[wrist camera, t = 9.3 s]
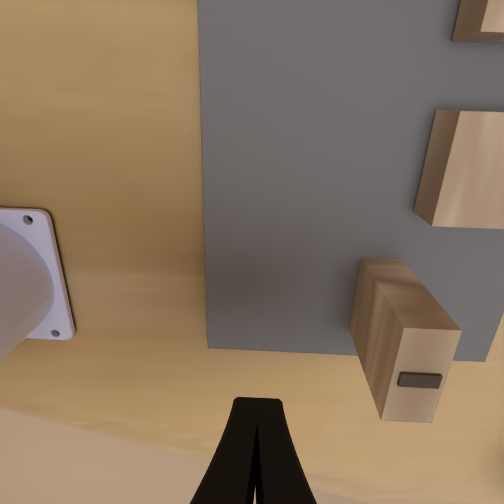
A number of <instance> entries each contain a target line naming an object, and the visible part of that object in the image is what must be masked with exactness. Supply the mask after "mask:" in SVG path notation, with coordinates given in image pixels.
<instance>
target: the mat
mask: <svg viewBox="0 0 504 504" xmlns="http://www.w3.org/2000/svg"><path fill="white" fill-rule="evenodd" d="M460 2H461V0H198V19H199V55H200V91H201V126H202V162H203V198H204V233H205V269H206V305H207V340H208V348H218V349H238V350H258V351H278V352H297V353H317V354H337V355H357V356H358V354H357V351H356V348H355V345H354V343H353V340H352V337H351V334H350V331H349V327H350V321H351V315H352V310H353V304H354V298H355V292H356V286H357V280H358V275H359V269H360V263H361V257H373V258H396V259H402V260H403V261H404V263H405V264H406V265H407V266H408V267H409V269H410V270H411V271H412V272H413V273H414V274H415V276H416V277H417V278H418V279H419V280H420V282H421V283H422V284H423V285H424V286H425V287H426V289H427V290H428V291H429V292H430V293H431V295H432V296H433V297H434V298H435V299H436V300H437V302H438V303H439V304H440V305H441V306H442V308H443V309H444V310H445V311H446V312H447V313H448V315H449V316H450V317H451V318H452V319H453V321H454V322H455V323H456V324H457V325H458V326H459V328H460V329H461V330H462V332H461V335H460V338H459V341H458V344H457V347H456V350H455V353H454V357H453V360H456V361H476V362H485V360H486V357H487V355H488V352H489V349H490V347H491V344H492V341H493V339H494V336H495V333H496V331H497V328H498V326H499V323H500V320H501V318H502V315H503V312H504V229H489V228H464V227H439V226H431V225H430V224H428V223H427V222H426V221H424V220H423V219H422V218H420V217H419V216H418V215H416V214H415V213H414V208H415V203H416V199H417V194H418V190H419V185H420V181H421V176H422V172H423V167H424V163H425V159H426V154H427V150H428V145H429V141H430V136H431V132H432V127H433V123H434V118H435V114H436V110H463V111H494V112H504V42H472V41H452V38H453V34H454V29H455V25H456V20H457V16H458V11H459V7H460Z"/></svg>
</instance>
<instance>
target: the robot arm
mask: <svg viewBox="0 0 504 504" xmlns="http://www.w3.org/2000/svg"><path fill="white" fill-rule="evenodd" d="M28 216H30V217H31V218H32V219H33V222H31V221H29V219H28ZM55 330H57V331H58V332H59V333H58V332H56V331H55ZM74 334H75V328H74V324H73V319H72V314H71V310H70V305H69V300H68V296H67V291H66V286H65V281H64V277H63V272H62V267H61V263H60V258H59V253H58V249H57V244H56V239H55V235H54V230H53V225H52V221H51V217H50V215H49V214H48V213H47V212H46V211H44V210H42V209H27V208H3V207H0V362H1V361H2V360H3V359H4V358H5V357H6V356H7V355H8V354H9V353H10V352H11V351H12V350H14V349H15V348H16V347H17V346H18V345H19V344H20V343H21V342H22V341H23V340H24V339H25V338H31V339H51V340H69V339H71V338H72V337H73V336H74ZM255 488H256V504H317V503H316V501H315V498H314V496H313V494H312V492H311V489H310V487H309V484H308V482H307V480H306V477H305V475H304V472H303V469H302V467H301V464H300V462H299V459H298V456H297V454H296V451H295V448H294V445H293V442H292V439H291V436H290V433H289V429H288V426H287V422H286V418H285V414H284V410H283V404H282V401H281V400H280V399H273V398H250V397H237V398H235V399H234V401H233V406H232V409H231V413H230V416H229V419H228V422H227V425H226V427H225V430H224V433H223V435H222V438H221V440H220V443H219V445H218V447H217V449H216V452H215V454H214V456H213V458H212V461H211V463H210V465H209V467H208V469H207V471H206V473H205V475H204V477H203V479H202V481H201V483H200V485H199V487H198V489H197V491H196V493H195V495H194V497H193V499H192V501H191V502H190V504H253V501H254V492H255Z"/></svg>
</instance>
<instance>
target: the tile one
mask: <svg viewBox="0 0 504 504" xmlns="http://www.w3.org/2000/svg"><path fill="white" fill-rule="evenodd" d="M349 331H350V334H351V337H352V340H353V343H354V345H355V348H356V351H357V354H358V357H359V360H360V362H361V365H362V368H363V371H364V374H365V376H366V379H367V382H368V385H369V388H370V391H371V393H372V396H373V399H374V402H375V405H376V407H377V410H378V413H379V416H380V419H381V421H400V422H418V423H432V420H433V417H434V414H435V411H436V408H437V405H438V402H439V399H440V396H441V393H442V390H443V387H444V384H445V381H446V378H447V375H448V372H449V369H450V366H451V363H452V360H453V357H454V353H455V350H456V347H457V344H458V341H459V338H460V335H461V332H462V330H461V329H460V328H459V326H458V325H457V324H456V323H455V322H454V321H453V319H452V318H451V317H450V316H449V315H448V313H447V312H446V311H445V310H444V309H443V308H442V306H441V305H440V304H439V303H438V302H437V300H436V299H435V298H434V297H433V296H432V295H431V293H430V292H429V291H428V290H427V289H426V287H425V286H424V285H423V284H422V283H421V282H420V280H419V279H418V278H417V277H416V276H415V274H414V273H413V272H412V271H411V270H410V269H409V267H408V266H407V265H406V264H405V263H404V261H403V260H402V259H396V258H373V257H361V263H360V269H359V275H358V280H357V286H356V292H355V298H354V304H353V310H352V315H351V321H350V327H349Z"/></svg>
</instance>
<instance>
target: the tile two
mask: <svg viewBox="0 0 504 504" xmlns="http://www.w3.org/2000/svg"><path fill="white" fill-rule="evenodd" d="M414 213H415V214H416V215H418V216H419V217H420V218H422V219H423V220H424V221H426V222H427V223H428V224H430V225H431V226H439V227H464V228H489V229H504V112H494V111H463V110H436V114H435V118H434V123H433V127H432V132H431V136H430V141H429V145H428V150H427V154H426V159H425V163H424V167H423V172H422V176H421V181H420V185H419V190H418V194H417V199H416V203H415V208H414Z"/></svg>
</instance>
